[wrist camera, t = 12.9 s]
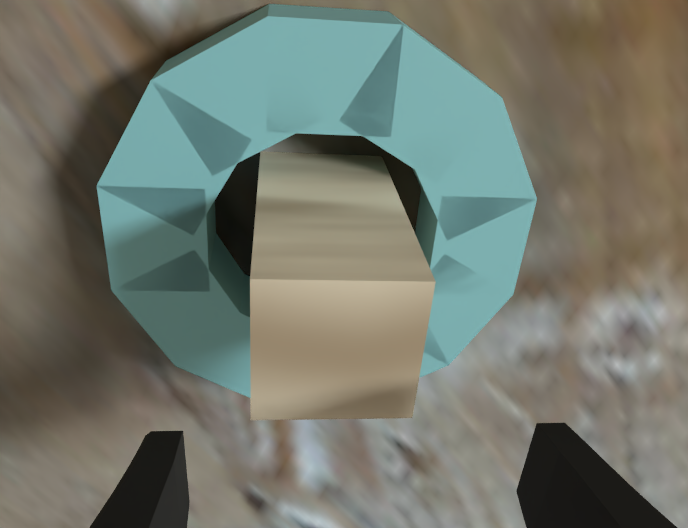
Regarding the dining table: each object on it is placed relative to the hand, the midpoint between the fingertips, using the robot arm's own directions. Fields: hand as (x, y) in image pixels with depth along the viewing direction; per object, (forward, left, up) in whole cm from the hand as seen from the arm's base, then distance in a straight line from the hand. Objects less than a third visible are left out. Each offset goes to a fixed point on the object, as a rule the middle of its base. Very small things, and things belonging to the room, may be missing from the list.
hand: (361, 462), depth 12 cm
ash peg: (+1, 0, -10) cm, 10 cm away
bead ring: (+1, 0, -10) cm, 10 cm away
